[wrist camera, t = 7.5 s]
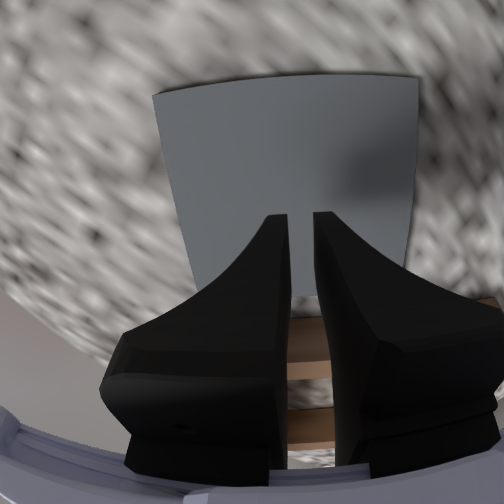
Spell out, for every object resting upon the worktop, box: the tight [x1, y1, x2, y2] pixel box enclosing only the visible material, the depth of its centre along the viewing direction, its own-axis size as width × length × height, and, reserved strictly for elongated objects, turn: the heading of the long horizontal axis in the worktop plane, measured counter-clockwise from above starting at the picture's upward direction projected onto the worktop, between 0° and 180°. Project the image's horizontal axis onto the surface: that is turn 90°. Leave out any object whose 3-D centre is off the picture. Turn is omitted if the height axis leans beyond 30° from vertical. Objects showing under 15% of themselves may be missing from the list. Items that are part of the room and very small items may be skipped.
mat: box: [152, 74, 418, 297], centre depth 13 cm, size 10×10×1 cm
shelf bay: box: [287, 297, 504, 451], centre depth 19 cm, size 16×12×3 cm
